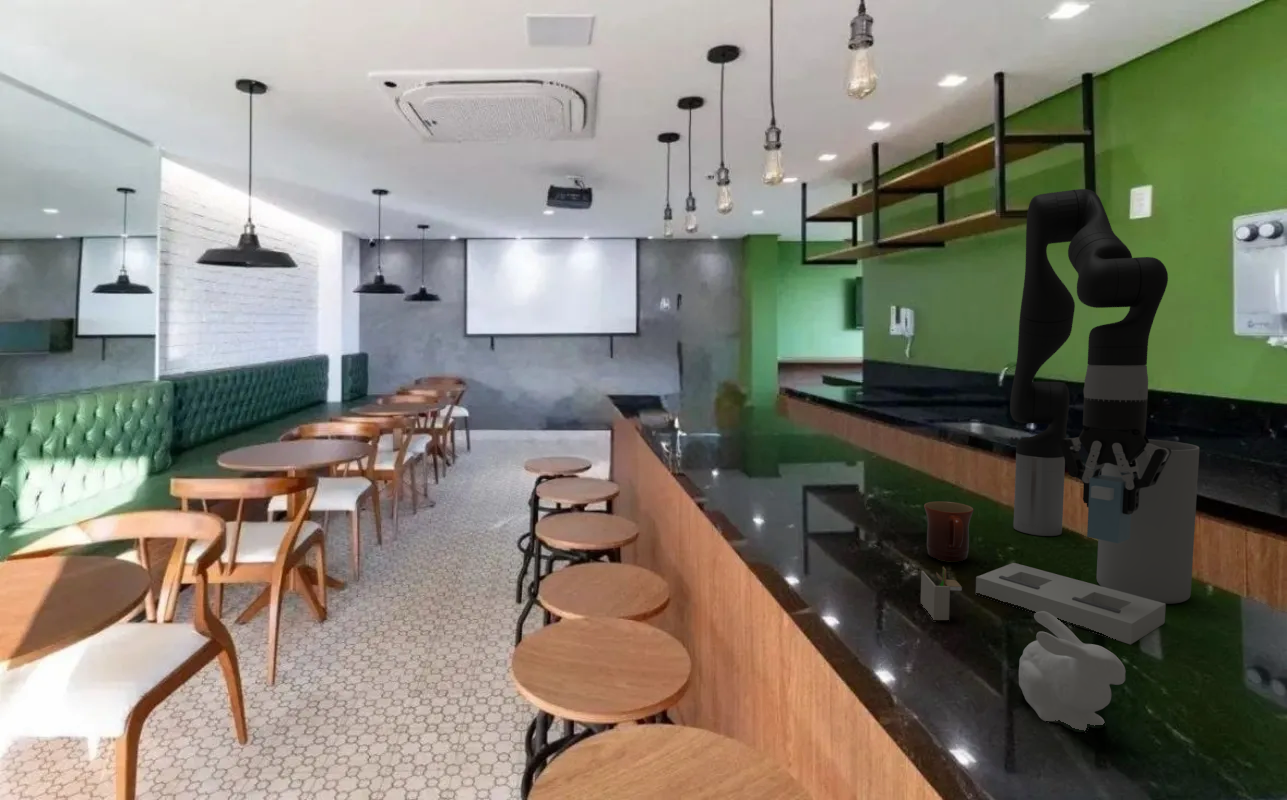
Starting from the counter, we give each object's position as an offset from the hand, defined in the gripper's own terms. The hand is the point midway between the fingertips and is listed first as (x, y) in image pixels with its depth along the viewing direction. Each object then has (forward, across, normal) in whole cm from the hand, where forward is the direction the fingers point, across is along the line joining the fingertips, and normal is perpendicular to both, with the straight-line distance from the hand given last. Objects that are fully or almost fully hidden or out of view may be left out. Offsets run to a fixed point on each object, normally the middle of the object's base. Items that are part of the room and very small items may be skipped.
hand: (1109, 509), depth 95 cm
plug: (+4, 0, 0) cm, 4 cm away
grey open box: (+18, +16, +18) cm, 30 cm away
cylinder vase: (+17, +2, -18) cm, 25 cm away
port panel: (+17, +6, 0) cm, 18 cm away
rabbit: (+17, -8, +32) cm, 37 cm away
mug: (+17, +28, -6) cm, 34 cm away
